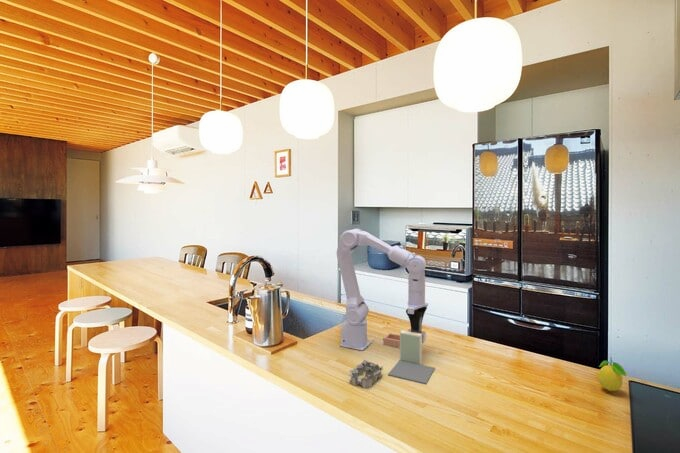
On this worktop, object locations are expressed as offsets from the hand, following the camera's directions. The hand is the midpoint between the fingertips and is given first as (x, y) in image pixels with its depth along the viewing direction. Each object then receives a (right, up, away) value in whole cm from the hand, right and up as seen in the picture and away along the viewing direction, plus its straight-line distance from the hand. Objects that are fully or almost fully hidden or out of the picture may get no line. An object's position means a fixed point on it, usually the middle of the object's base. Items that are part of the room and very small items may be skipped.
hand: (416, 328), depth 125 cm
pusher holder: (-5, -9, +10) cm, 14 cm away
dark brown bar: (0, -4, 0) cm, 4 cm away
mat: (-4, -10, -12) cm, 17 cm away
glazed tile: (-3, -10, -5) cm, 12 cm away
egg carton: (-19, -11, -16) cm, 27 cm away
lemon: (+50, -11, -25) cm, 57 cm away
